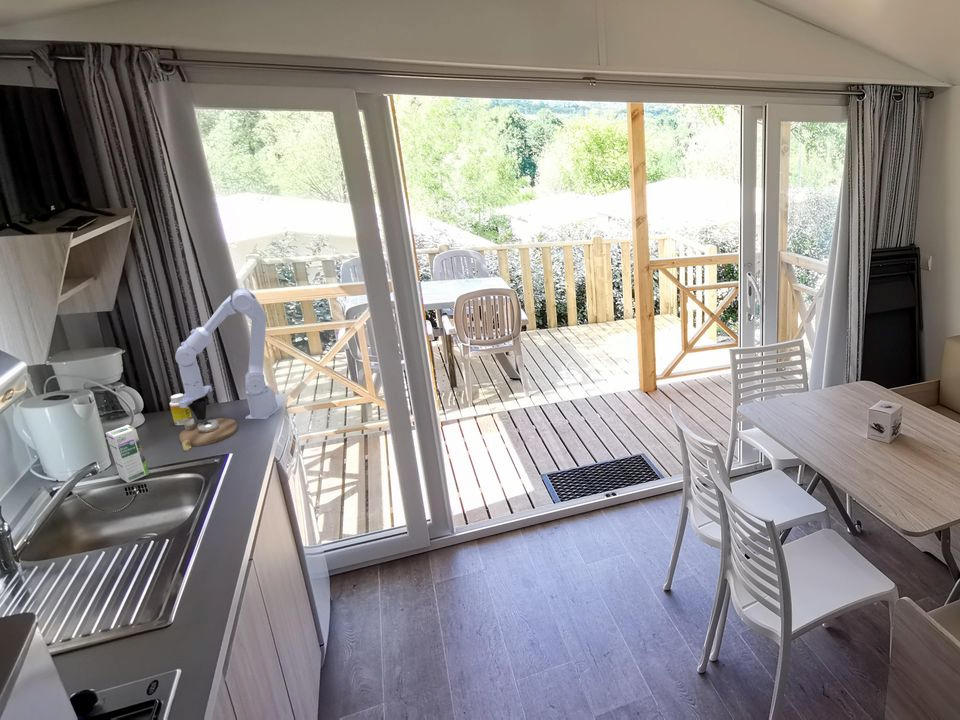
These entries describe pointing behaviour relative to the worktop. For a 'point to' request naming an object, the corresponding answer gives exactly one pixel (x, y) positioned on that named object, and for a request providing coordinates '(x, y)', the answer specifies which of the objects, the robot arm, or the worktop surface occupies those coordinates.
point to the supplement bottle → (179, 409)
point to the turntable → (199, 439)
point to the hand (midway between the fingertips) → (201, 418)
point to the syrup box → (127, 453)
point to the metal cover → (208, 426)
